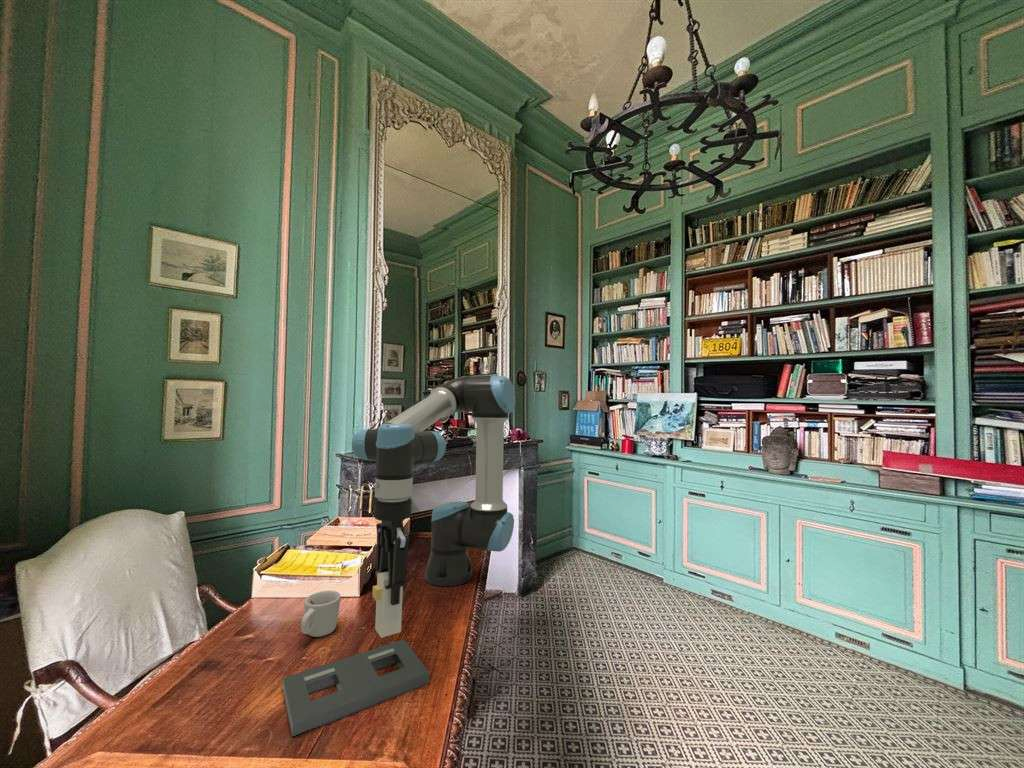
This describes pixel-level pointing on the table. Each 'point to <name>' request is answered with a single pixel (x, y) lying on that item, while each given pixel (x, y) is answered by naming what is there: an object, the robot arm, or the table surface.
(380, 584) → the plug
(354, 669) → the panel
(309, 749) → the table surface
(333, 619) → the cup
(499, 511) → the robot arm
